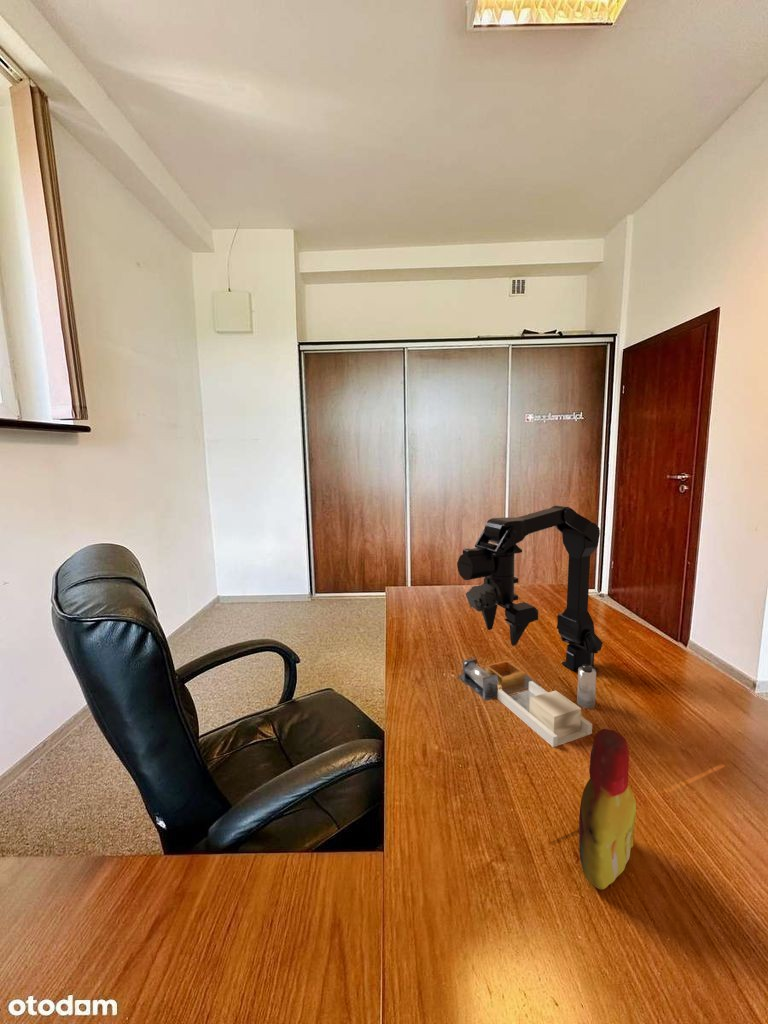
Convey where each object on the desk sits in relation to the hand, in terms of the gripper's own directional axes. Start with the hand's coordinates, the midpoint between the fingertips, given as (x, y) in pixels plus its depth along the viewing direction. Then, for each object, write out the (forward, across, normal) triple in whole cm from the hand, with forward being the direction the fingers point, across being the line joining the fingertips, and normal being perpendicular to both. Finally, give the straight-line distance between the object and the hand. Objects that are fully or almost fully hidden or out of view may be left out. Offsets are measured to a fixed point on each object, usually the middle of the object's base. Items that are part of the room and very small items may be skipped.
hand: (501, 637), depth 97 cm
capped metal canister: (+14, +12, +14) cm, 23 cm away
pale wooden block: (+14, +15, +2) cm, 20 cm away
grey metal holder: (+14, -4, +2) cm, 15 cm away
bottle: (+14, +40, -12) cm, 44 cm away
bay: (+14, +11, +2) cm, 18 cm away
